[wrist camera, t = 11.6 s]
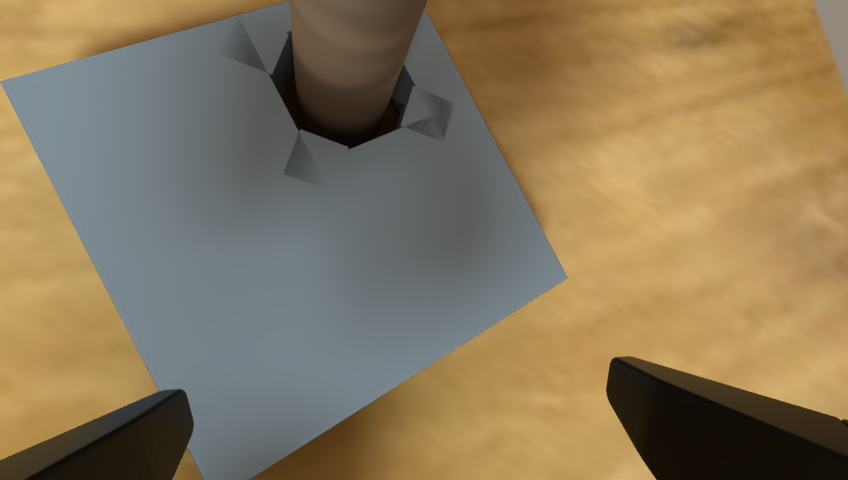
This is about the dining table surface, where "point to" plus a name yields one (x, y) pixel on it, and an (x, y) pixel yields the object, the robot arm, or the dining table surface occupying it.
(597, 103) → the dining table surface
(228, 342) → the plate
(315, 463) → the dining table surface
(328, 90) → the peg
